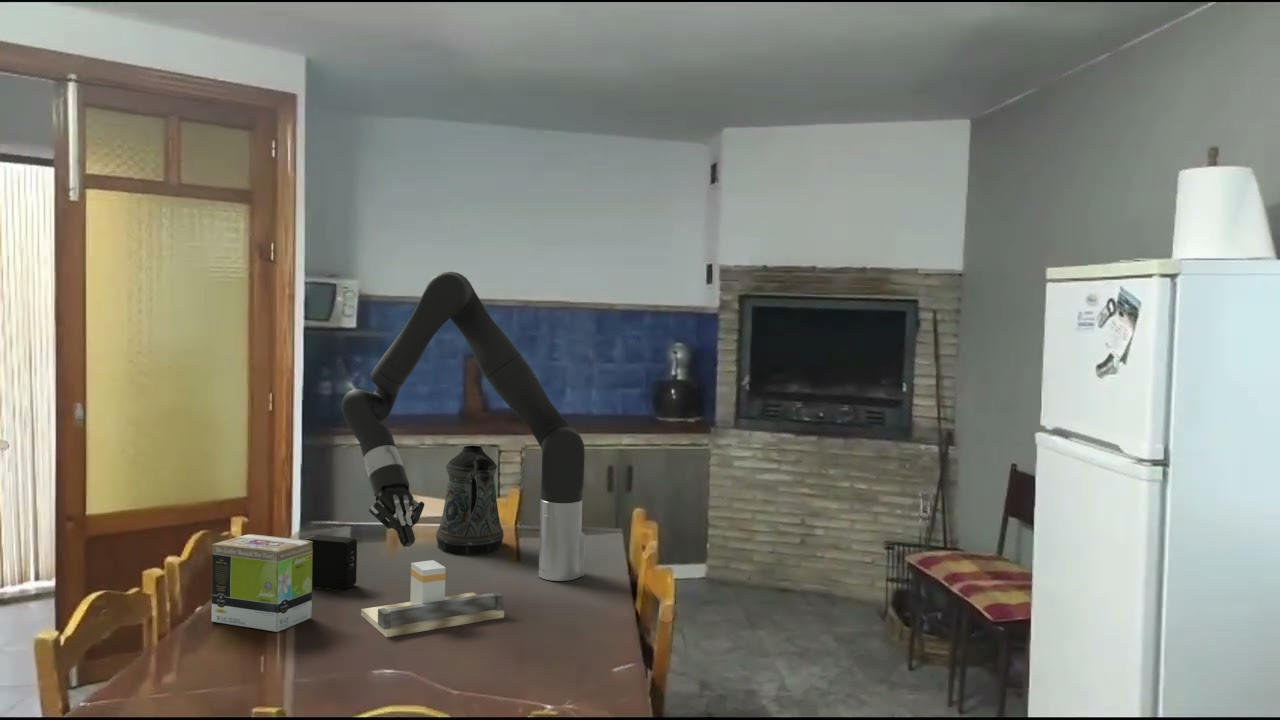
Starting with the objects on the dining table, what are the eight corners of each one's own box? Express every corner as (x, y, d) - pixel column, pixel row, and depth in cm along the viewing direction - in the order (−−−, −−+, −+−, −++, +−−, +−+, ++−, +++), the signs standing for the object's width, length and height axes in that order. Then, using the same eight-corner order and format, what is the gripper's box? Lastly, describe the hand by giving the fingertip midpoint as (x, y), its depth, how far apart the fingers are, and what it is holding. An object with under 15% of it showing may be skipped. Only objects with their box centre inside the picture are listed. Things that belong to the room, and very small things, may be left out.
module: (431, 605, 181) (432, 559, 181) (444, 614, 176) (445, 567, 175) (409, 609, 178) (410, 562, 178) (421, 618, 173) (422, 570, 173)
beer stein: (470, 535, 244) (473, 440, 243) (525, 548, 233) (528, 448, 232) (421, 547, 231) (423, 446, 230) (477, 561, 219) (480, 454, 218)
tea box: (313, 617, 175) (315, 539, 175) (276, 634, 166) (277, 551, 165) (248, 607, 180) (249, 531, 180) (208, 622, 171) (209, 542, 170)
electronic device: (346, 590, 193) (347, 542, 192) (302, 586, 195) (303, 538, 194) (356, 585, 197) (357, 538, 197) (313, 581, 199) (313, 534, 199)
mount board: (474, 597, 191) (474, 578, 191) (504, 617, 179) (505, 596, 179) (359, 615, 177) (360, 594, 177) (385, 637, 166) (385, 615, 166)
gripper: (368, 461, 192) (392, 537, 185) (421, 463, 203) (445, 534, 195) (349, 480, 196) (371, 555, 188) (402, 481, 206) (425, 552, 199)
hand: (409, 544), depth 192 cm, fingers closed
